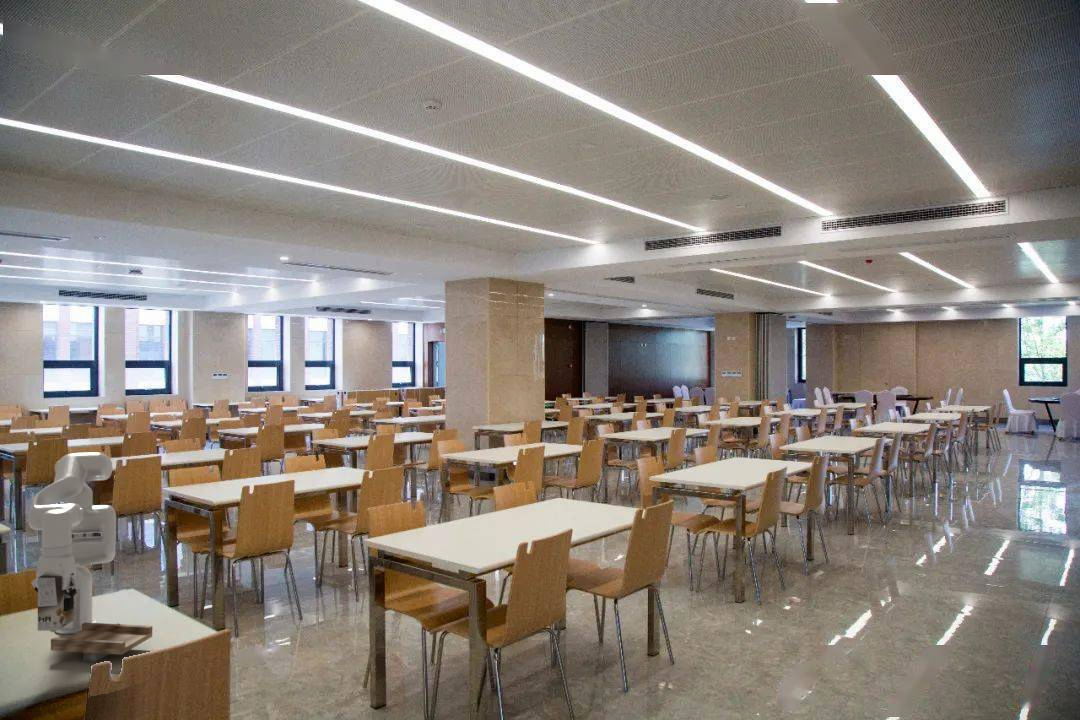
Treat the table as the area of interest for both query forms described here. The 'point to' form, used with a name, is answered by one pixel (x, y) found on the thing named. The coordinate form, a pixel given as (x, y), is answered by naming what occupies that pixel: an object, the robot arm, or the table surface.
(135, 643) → the brown wooden tray
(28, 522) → the robot arm
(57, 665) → the table surface
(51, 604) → the coffee box
